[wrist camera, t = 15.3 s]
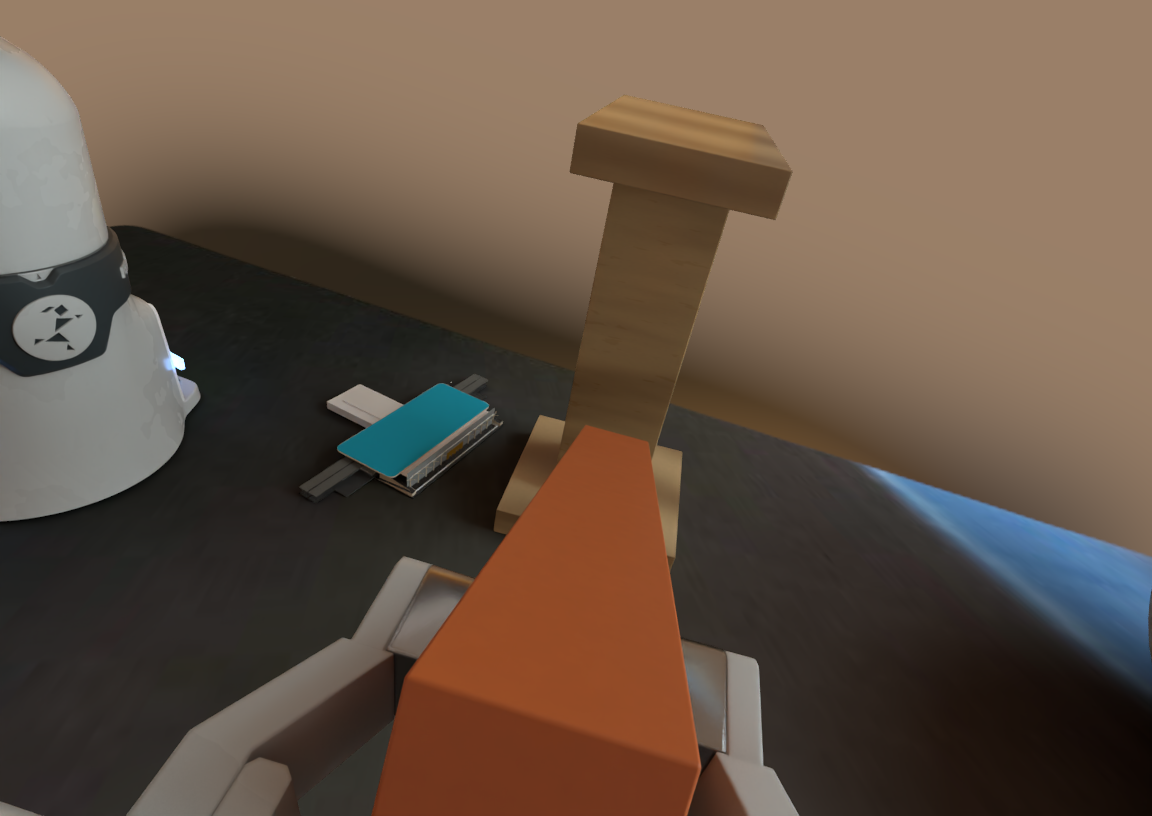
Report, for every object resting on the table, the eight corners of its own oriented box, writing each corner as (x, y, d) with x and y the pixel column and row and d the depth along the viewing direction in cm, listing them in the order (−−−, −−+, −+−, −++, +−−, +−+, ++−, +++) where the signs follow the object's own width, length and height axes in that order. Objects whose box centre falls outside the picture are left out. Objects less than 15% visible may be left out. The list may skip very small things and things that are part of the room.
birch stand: (665, 602, 38) (830, 179, 24) (483, 552, 39) (542, 115, 25) (677, 456, 52) (787, 130, 38) (541, 421, 53) (600, 89, 39)
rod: (622, 1038, 6) (704, 766, 6) (340, 942, 6) (404, 674, 6) (631, 504, 28) (648, 441, 28) (568, 486, 28) (585, 424, 28)
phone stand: (422, 357, 58) (423, 342, 57) (528, 404, 54) (531, 388, 54) (236, 458, 42) (233, 439, 41) (368, 534, 39) (368, 515, 38)
